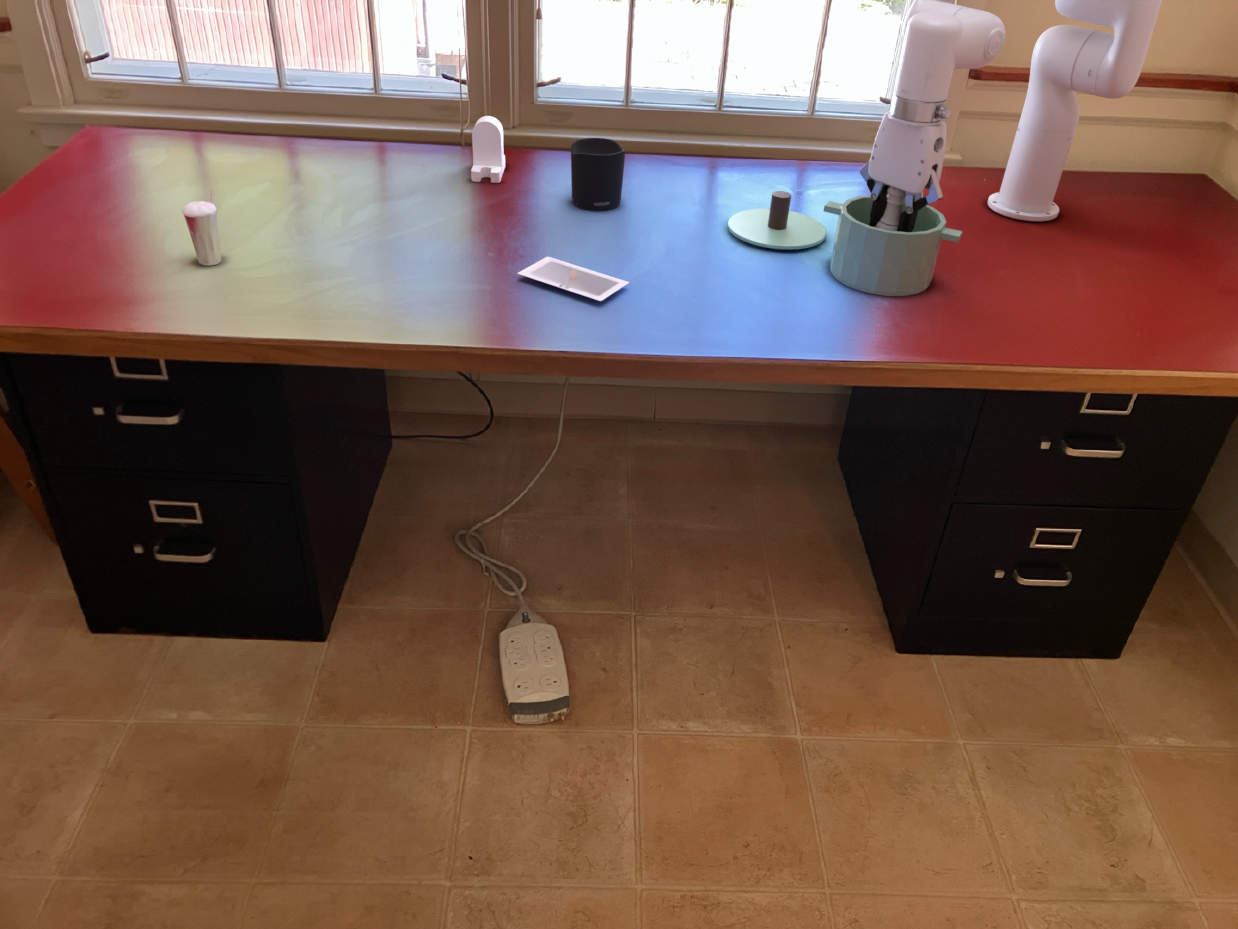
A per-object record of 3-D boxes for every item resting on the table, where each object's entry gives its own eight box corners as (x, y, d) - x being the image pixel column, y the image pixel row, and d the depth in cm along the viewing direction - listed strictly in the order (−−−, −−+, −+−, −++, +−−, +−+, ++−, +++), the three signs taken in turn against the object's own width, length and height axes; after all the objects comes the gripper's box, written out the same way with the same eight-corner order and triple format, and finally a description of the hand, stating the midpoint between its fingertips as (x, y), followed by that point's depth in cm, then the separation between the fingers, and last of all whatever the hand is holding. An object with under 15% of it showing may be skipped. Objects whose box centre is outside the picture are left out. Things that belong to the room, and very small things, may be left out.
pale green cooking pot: (832, 242, 163) (843, 184, 157) (957, 273, 155) (973, 213, 149) (800, 275, 152) (810, 213, 146) (933, 310, 144) (949, 246, 138)
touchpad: (547, 262, 151) (547, 249, 150) (629, 289, 145) (629, 275, 144) (516, 280, 145) (516, 266, 144) (600, 308, 139) (601, 294, 138)
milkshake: (236, 256, 147) (223, 192, 142) (213, 269, 143) (199, 204, 137) (211, 251, 149) (197, 187, 143) (187, 264, 144) (172, 199, 139)
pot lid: (750, 207, 174) (754, 170, 170) (838, 228, 168) (845, 190, 164) (711, 237, 162) (715, 198, 158) (805, 261, 156) (811, 221, 152)
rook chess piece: (870, 229, 151) (880, 179, 147) (898, 230, 152) (909, 180, 147) (878, 241, 148) (889, 190, 143) (907, 241, 148) (919, 190, 143)
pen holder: (561, 206, 170) (561, 149, 165) (582, 189, 178) (584, 134, 172) (610, 216, 168) (613, 158, 162) (630, 198, 175) (633, 143, 169)
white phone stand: (505, 164, 186) (504, 111, 180) (499, 182, 178) (498, 127, 172) (478, 163, 186) (476, 110, 180) (471, 181, 178) (468, 126, 172)
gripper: (982, 119, 136) (950, 242, 146) (884, 90, 146) (861, 207, 156) (952, 128, 131) (921, 254, 142) (853, 97, 141) (831, 217, 152)
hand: (890, 228), depth 149 cm, fingers closed on rook chess piece, 4 cm apart
